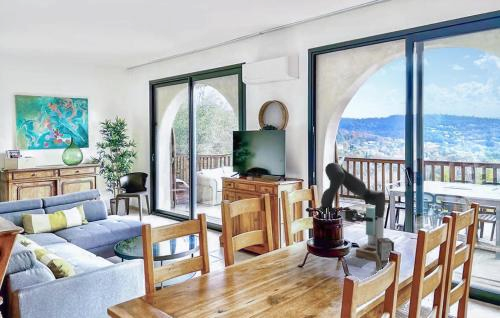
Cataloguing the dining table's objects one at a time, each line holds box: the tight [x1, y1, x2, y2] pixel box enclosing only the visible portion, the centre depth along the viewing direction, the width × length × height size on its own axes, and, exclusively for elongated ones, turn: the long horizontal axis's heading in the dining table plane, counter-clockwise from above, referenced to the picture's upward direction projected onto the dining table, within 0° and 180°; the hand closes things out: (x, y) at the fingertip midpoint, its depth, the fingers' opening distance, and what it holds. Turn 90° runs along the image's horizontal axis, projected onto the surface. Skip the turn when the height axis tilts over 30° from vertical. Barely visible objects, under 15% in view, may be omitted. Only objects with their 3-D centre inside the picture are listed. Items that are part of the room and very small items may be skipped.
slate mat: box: [346, 256, 372, 268], centre depth 212 cm, size 11×11×1 cm
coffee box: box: [375, 237, 395, 272], centre depth 198 cm, size 9×6×16 cm
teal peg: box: [365, 206, 375, 236], centre depth 222 cm, size 5×5×15 cm
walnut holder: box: [350, 244, 376, 263], centre depth 223 cm, size 16×16×4 cm
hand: (374, 219), depth 220 cm, fingers closed on teal peg, 4 cm apart
